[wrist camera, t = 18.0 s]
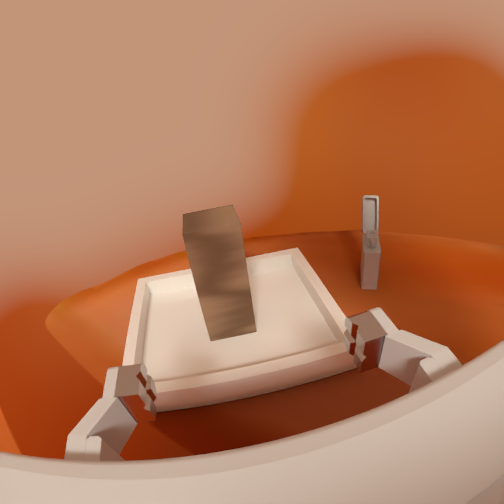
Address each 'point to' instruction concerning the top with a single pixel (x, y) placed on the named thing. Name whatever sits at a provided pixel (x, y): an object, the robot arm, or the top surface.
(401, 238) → the top surface
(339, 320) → the tray
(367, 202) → the lighter
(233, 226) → the walnut block
